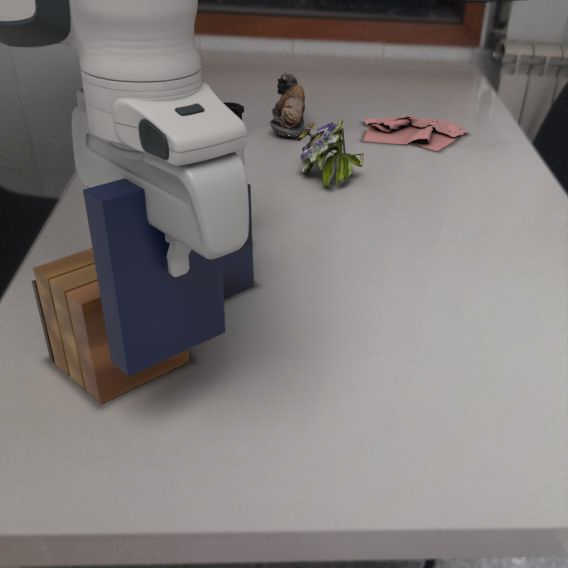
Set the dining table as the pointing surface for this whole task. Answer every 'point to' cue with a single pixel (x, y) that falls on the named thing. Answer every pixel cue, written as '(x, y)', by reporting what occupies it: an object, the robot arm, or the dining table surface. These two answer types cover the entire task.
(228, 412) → the dining table surface
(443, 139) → the cloth
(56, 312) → the tan books
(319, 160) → the passion flower
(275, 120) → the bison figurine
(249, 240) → the navy books
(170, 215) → the robot arm
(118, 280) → the navy book
